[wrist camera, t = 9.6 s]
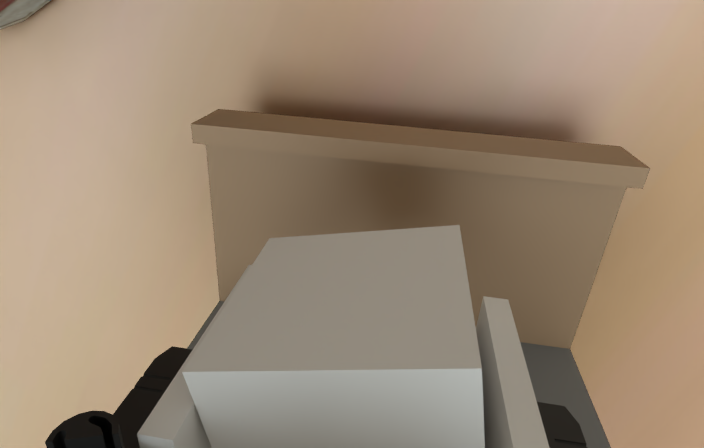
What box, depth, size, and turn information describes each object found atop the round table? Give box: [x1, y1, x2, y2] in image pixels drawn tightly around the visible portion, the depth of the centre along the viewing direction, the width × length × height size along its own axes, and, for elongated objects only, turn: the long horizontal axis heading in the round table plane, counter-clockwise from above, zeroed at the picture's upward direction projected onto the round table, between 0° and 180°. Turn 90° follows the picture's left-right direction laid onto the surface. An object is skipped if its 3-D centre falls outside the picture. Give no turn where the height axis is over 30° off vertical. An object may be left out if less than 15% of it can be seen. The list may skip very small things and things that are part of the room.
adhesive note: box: [182, 225, 485, 448], centre depth 13 cm, size 6×6×6 cm
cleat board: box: [187, 109, 650, 448], centre depth 24 cm, size 14×22×22 cm, turn 87°
